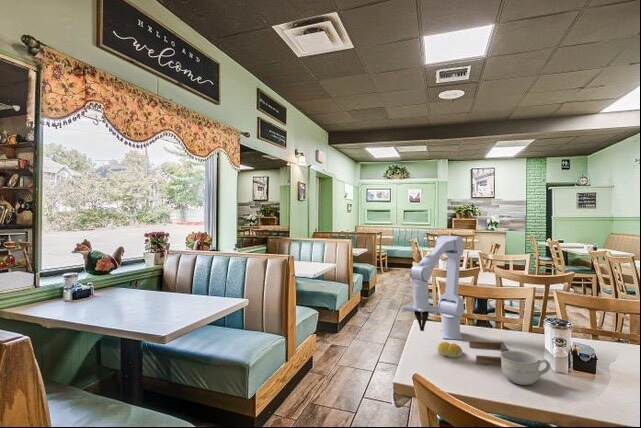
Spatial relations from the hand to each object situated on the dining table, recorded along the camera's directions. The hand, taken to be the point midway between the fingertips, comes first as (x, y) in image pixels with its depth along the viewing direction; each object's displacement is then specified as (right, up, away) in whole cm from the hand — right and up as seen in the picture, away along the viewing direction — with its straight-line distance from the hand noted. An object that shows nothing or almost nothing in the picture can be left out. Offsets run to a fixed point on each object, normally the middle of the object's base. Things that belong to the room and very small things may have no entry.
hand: (422, 330), depth 133 cm
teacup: (+26, -8, -25) cm, 37 cm away
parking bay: (+24, -8, -6) cm, 25 cm away
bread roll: (+10, -9, -2) cm, 13 cm away
